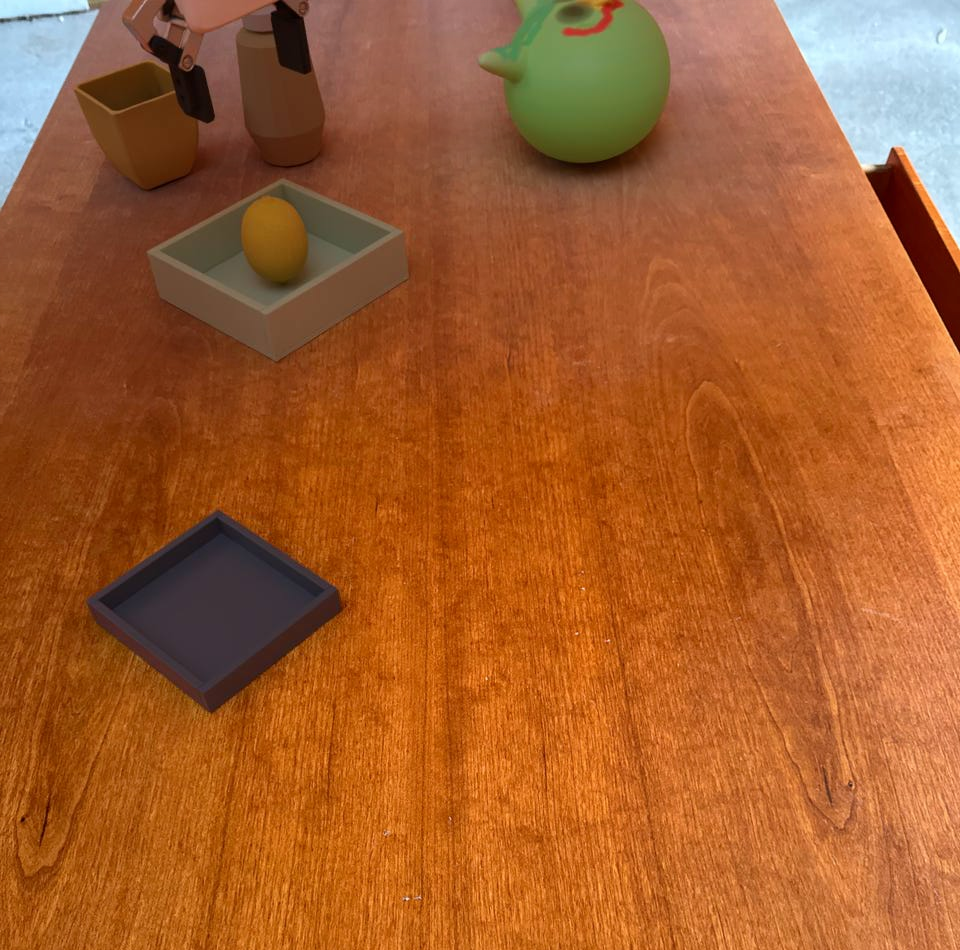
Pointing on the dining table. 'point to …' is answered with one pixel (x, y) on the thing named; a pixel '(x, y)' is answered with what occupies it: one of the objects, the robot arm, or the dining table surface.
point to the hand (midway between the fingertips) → (249, 93)
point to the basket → (269, 304)
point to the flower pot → (140, 123)
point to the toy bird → (583, 76)
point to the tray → (215, 608)
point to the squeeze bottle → (277, 97)
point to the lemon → (274, 239)
